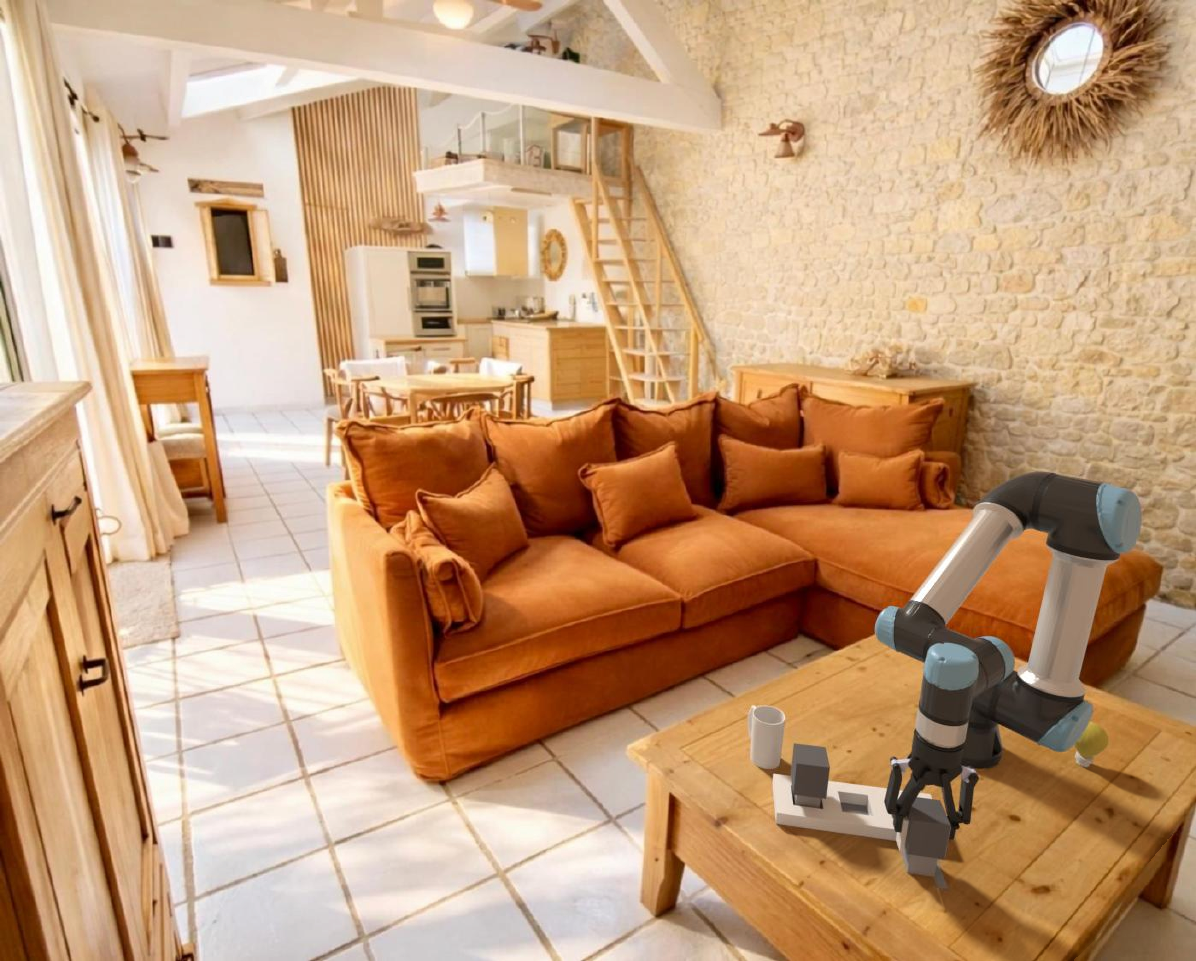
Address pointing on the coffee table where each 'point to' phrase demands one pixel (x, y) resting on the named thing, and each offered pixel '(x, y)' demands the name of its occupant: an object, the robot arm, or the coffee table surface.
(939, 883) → the pad
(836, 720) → the coffee table surface
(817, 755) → the twin plug
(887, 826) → the strip
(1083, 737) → the light bulb
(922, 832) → the plug
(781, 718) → the mug
